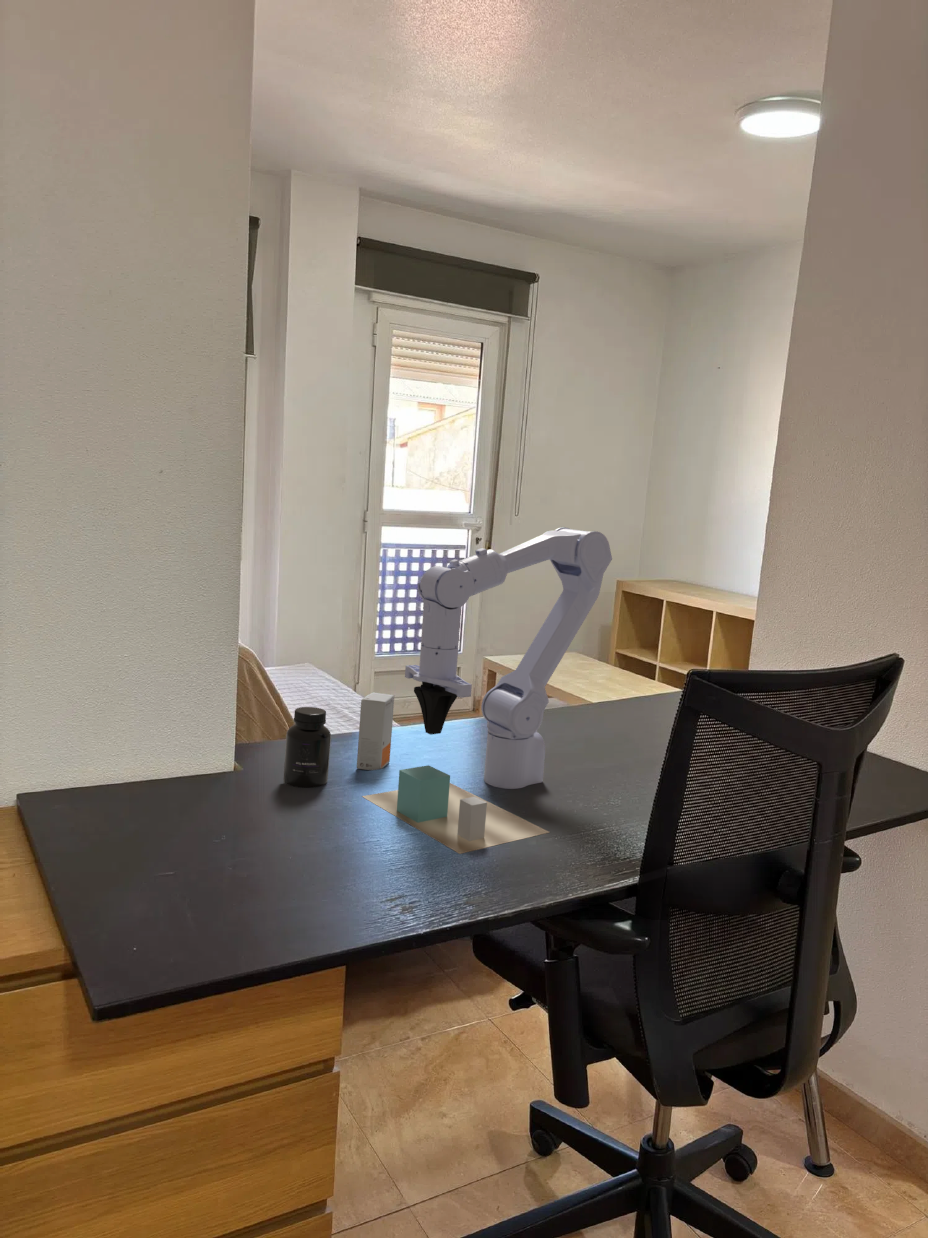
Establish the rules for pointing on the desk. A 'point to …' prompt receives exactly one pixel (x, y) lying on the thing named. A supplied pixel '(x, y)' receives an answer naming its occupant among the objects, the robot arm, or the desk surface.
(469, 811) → the grey post
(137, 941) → the desk surface
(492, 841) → the board
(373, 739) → the skincare box
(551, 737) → the desk surface
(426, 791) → the teal green block
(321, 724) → the supplement bottle
